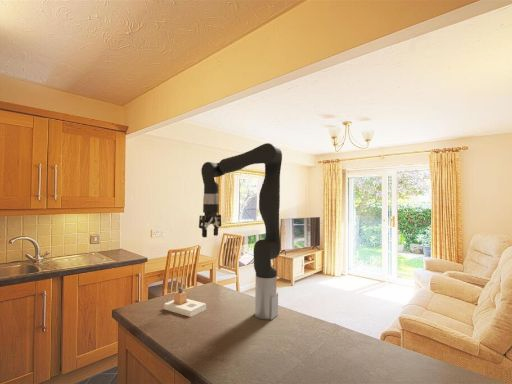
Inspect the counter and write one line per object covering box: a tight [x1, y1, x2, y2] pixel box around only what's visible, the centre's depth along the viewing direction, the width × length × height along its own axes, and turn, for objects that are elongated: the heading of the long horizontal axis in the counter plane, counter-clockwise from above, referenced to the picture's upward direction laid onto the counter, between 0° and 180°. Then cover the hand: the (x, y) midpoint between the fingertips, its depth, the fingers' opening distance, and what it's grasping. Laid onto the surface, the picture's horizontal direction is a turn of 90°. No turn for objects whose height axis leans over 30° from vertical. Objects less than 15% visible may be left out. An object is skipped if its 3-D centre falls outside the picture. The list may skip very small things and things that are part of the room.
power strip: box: [163, 298, 207, 318], centre depth 127 cm, size 16×10×3 cm, turn 60°
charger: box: [173, 287, 188, 305], centre depth 129 cm, size 4×4×9 cm
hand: (210, 236), depth 136 cm, fingers open, 8 cm apart
